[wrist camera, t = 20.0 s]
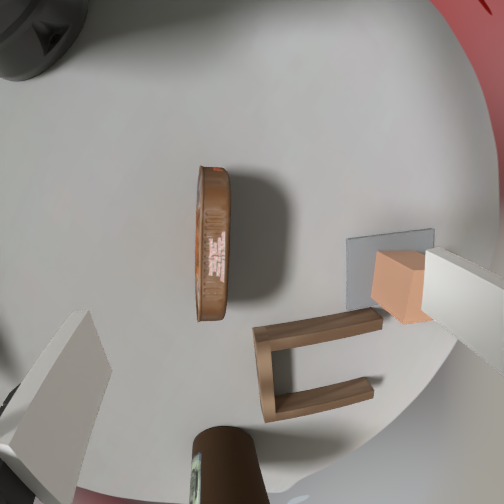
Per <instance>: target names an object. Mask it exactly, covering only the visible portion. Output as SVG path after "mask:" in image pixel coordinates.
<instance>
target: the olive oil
mask: <svg viewBox="0 0 504 504" xmlns="http://www.w3.org/2000/svg"><path fill="white" fill-rule="evenodd" d="M189 504H270V502H269V499H268V496H267V492H266V489H265V485H264V481H263V478H262V474H261V470H260V467H259V463H258V458H257V454H256V450H255V446H254V442H253V439H252V437H251V436H250V435H249V434H248V433H247V432H245V431H243V430H241V429H238V428H234V427H226V426H222V427H214V428H210V429H207V430H205V431H203V432H201V433H200V434H198V435H197V436H196V438H195V439H194V442H193V450H192V467H191V483H190V499H189Z"/></svg>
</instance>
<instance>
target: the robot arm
mask: <svg viewBox="0 0 504 504" xmlns="http://www.w3.org/2000/svg"><path fill="white" fill-rule="evenodd" d="M87 7H88V3H87V0H0V78H3V79H6V80H9V81H22V80H26V79H29V78H32V77H34V76H36V75H38V74H40V73H42V72H43V71H45V70H46V69H48V68H49V67H50V66H52V65H53V64H54V63H55V62H56V61H57V60H58V59H59V58H61V56H62V55H63V54H64V53H65V52H66V51H67V50H68V49H69V47H70V46H71V45H72V43H73V42H74V41H75V39H76V38H77V36H78V34H79V32H80V30H81V28H82V26H83V24H84V21H85V18H86V14H87ZM421 310H422V311H423V312H424V313H426V314H427V315H428V316H430V317H431V318H432V319H433V320H435V321H436V322H437V323H439V324H440V325H441V326H442V327H444V328H445V329H446V330H447V331H449V332H450V333H451V334H452V335H454V336H455V337H456V338H457V339H459V340H460V341H461V342H462V343H464V344H465V345H466V346H467V347H469V348H470V349H471V350H472V351H473V352H475V353H476V354H477V355H478V356H479V357H481V358H482V359H483V360H484V361H486V362H487V363H488V364H489V365H490V366H491V367H493V368H494V369H495V370H496V371H497V372H498V373H500V374H501V375H502V376H503V377H504V278H503V277H501V276H499V275H497V274H495V273H493V272H491V271H489V270H487V269H485V268H483V267H481V266H479V265H477V264H475V263H473V262H470V261H468V260H466V259H464V258H462V257H460V256H458V255H456V254H453V253H451V252H449V251H447V250H445V249H442V248H440V247H437V248H432V249H428V250H426V254H425V272H424V286H423V297H422V307H421ZM111 374H112V369H111V366H110V364H109V362H108V359H107V357H106V354H105V352H104V349H103V347H102V344H101V342H100V339H99V336H98V334H97V331H96V328H95V326H94V323H93V320H92V317H91V314H90V311H89V310H84V311H77V312H72V313H71V314H70V315H69V316H68V318H67V319H66V320H65V322H64V323H63V324H62V326H61V327H60V328H59V330H58V331H57V332H56V334H55V335H54V337H53V338H52V339H51V341H50V342H49V343H48V345H47V346H46V348H45V349H44V350H43V352H42V353H41V355H40V356H39V358H38V359H37V361H36V362H35V363H34V365H33V366H32V368H31V369H30V371H29V372H28V374H27V375H26V377H25V378H24V380H23V381H22V383H20V384H19V385H18V386H17V387H16V388H15V389H13V390H12V391H11V392H10V393H9V395H8V396H7V398H6V399H5V401H4V403H3V406H1V407H0V504H33V502H34V499H35V496H36V497H37V498H38V499H39V500H40V501H41V502H42V503H44V504H72V501H73V496H74V493H75V489H76V485H77V481H78V477H79V474H80V470H81V466H82V463H83V459H84V456H85V453H86V449H87V446H88V442H89V439H90V436H91V433H92V430H93V426H94V423H95V420H96V417H97V414H98V411H99V408H100V405H101V402H102V399H103V396H104V393H105V390H106V388H107V385H108V382H109V379H110V376H111Z"/></svg>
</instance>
